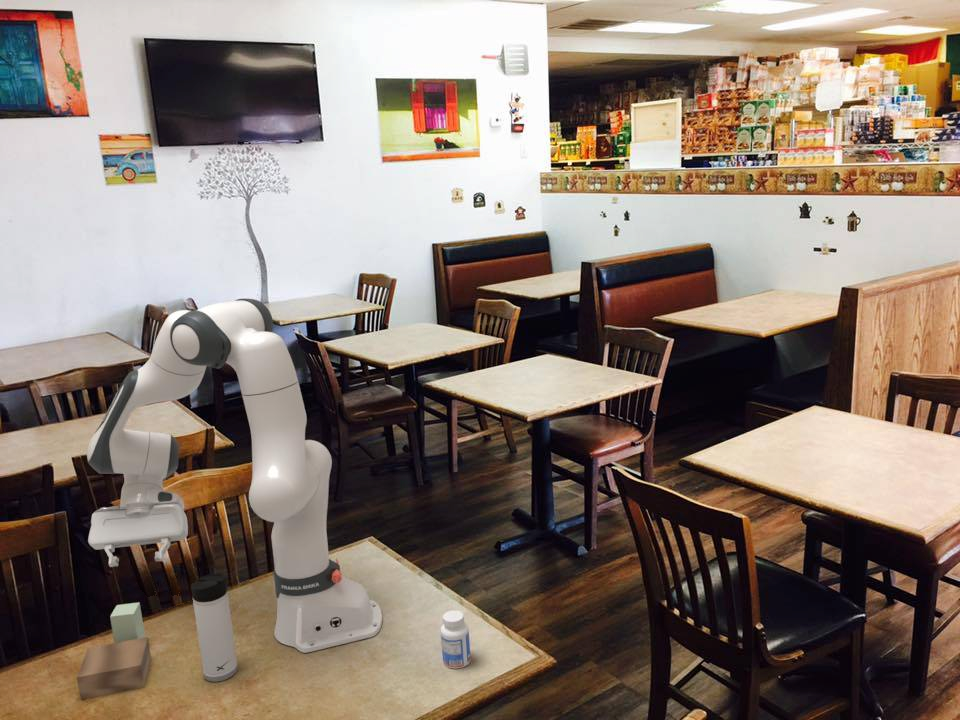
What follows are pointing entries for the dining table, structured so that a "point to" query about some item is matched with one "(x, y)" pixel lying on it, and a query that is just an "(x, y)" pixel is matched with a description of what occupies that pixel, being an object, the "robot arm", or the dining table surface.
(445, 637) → the pill bottle
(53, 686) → the dining table surface
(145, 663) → the walnut block
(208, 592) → the travel mug
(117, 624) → the sage block
